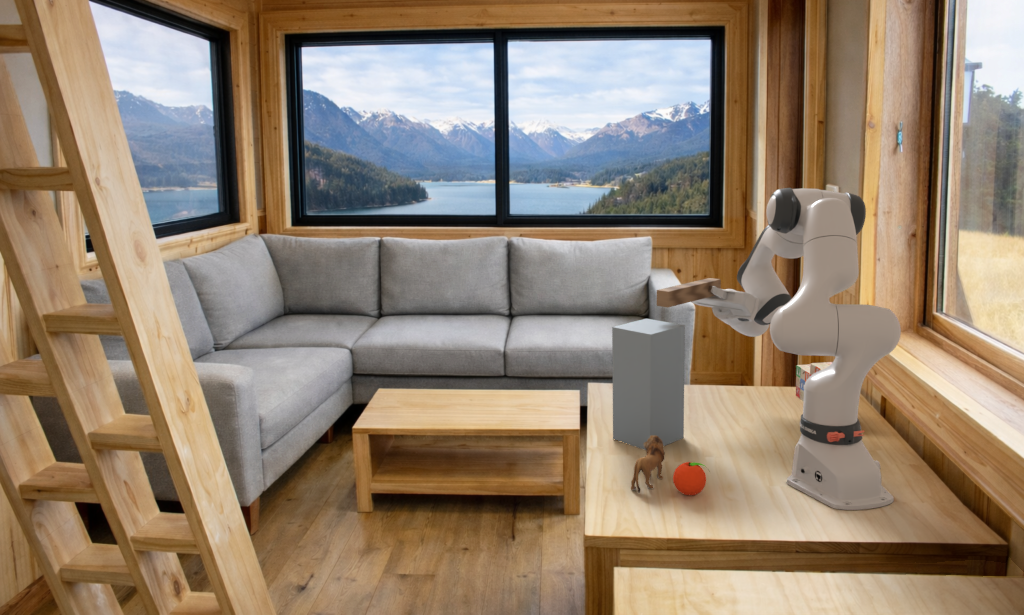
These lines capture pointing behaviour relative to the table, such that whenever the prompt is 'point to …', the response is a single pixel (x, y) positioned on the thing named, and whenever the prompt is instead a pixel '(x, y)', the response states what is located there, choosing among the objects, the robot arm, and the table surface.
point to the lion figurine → (649, 462)
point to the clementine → (689, 478)
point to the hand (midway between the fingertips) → (703, 287)
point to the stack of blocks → (807, 375)
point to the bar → (686, 292)
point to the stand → (648, 381)
